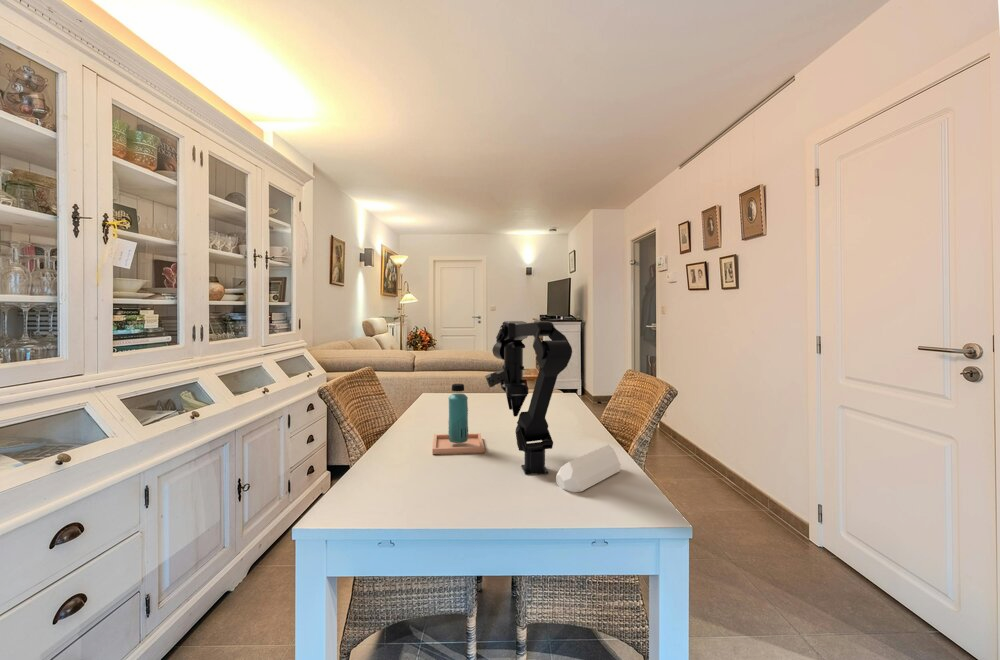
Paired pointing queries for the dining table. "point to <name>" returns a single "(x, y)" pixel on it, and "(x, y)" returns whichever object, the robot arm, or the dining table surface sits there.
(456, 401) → the beverage bottle
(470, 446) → the terracotta tray
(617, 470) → the crystal
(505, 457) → the dining table surface
